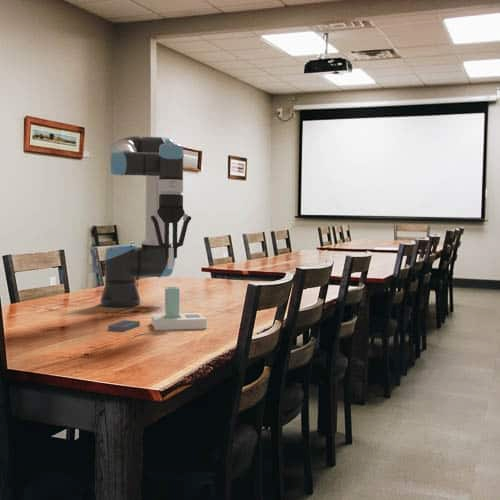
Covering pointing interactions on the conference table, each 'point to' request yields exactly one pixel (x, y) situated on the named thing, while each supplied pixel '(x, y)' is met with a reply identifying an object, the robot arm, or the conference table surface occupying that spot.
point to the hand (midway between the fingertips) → (170, 268)
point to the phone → (123, 325)
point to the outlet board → (179, 321)
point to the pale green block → (171, 302)
